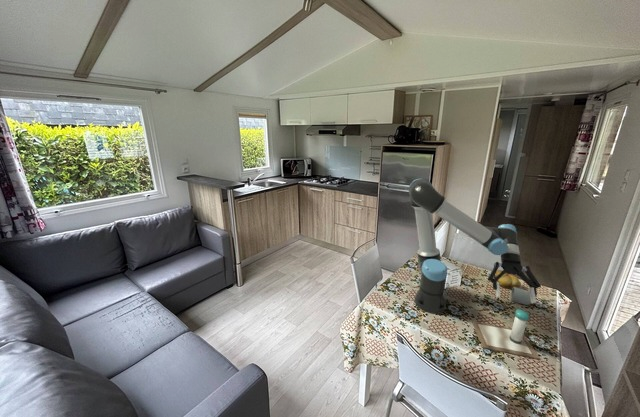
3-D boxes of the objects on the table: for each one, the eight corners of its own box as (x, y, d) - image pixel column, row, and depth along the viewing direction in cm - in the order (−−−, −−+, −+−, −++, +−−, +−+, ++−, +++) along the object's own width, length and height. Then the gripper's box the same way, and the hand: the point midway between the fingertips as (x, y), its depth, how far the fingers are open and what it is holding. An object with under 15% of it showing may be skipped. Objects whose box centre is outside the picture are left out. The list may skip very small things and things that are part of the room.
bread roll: (517, 283, 153) (520, 271, 151) (523, 292, 145) (527, 280, 142) (492, 279, 157) (495, 268, 155) (497, 288, 149) (500, 276, 146)
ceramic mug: (530, 308, 131) (534, 295, 129) (511, 303, 135) (514, 290, 133) (527, 298, 140) (530, 286, 138) (509, 293, 144) (512, 281, 142)
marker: (511, 342, 108) (518, 315, 104) (507, 335, 112) (514, 308, 108) (523, 345, 107) (531, 317, 103) (519, 337, 111) (526, 310, 107)
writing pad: (482, 348, 106) (483, 346, 106) (472, 322, 121) (472, 320, 121) (539, 359, 101) (539, 358, 101) (521, 331, 116) (521, 329, 116)
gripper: (536, 261, 123) (544, 306, 114) (478, 253, 130) (481, 296, 121) (545, 256, 117) (554, 304, 107) (483, 248, 124) (487, 292, 114)
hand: (515, 300), depth 114 cm, fingers open, 13 cm apart
